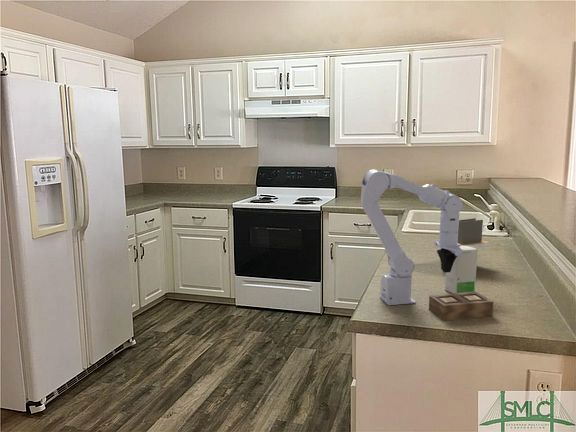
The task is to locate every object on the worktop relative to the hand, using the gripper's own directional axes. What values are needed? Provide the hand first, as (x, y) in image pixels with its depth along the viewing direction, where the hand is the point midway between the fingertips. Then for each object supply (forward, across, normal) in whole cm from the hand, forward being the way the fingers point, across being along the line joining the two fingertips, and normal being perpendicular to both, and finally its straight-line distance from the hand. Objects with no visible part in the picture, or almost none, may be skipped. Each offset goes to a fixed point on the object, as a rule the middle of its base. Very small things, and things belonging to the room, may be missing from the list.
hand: (446, 271), depth 156 cm
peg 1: (+9, -12, +5) cm, 16 cm away
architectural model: (+10, +33, -24) cm, 42 cm away
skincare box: (+10, +7, -9) cm, 15 cm away
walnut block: (+9, -12, +1) cm, 15 cm away
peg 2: (+9, -12, -3) cm, 15 cm away
